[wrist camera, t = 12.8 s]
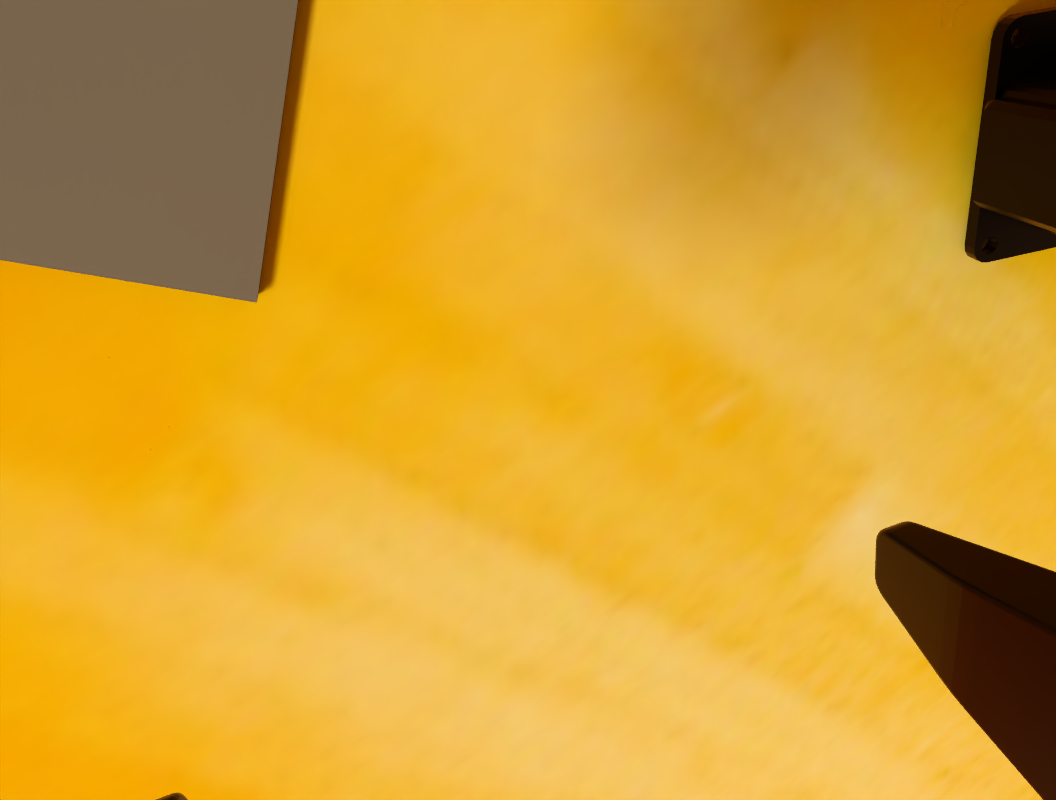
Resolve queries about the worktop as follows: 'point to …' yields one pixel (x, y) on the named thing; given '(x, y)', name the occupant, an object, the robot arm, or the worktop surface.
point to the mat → (142, 137)
